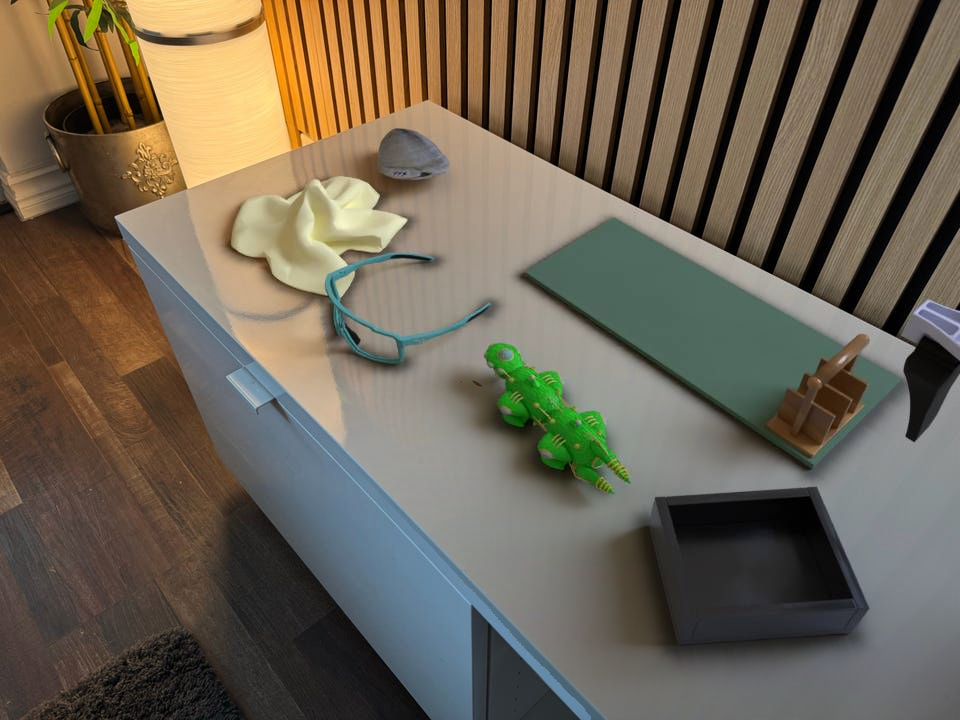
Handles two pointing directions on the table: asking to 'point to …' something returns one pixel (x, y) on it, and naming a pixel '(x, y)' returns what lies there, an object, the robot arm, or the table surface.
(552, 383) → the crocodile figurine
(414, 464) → the table surface
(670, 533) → the open box
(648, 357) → the drying mat
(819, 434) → the dish rack
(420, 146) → the seashell
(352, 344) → the sunglasses
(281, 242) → the cloth
